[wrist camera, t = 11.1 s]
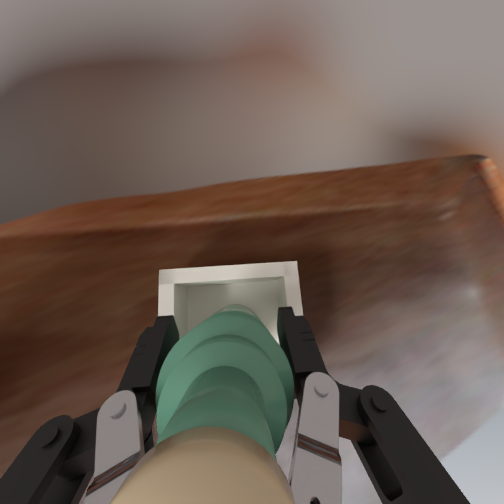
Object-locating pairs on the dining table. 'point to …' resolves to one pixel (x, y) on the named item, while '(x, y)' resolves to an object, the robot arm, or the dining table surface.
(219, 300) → the holder
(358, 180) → the dining table surface
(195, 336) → the green bottle
